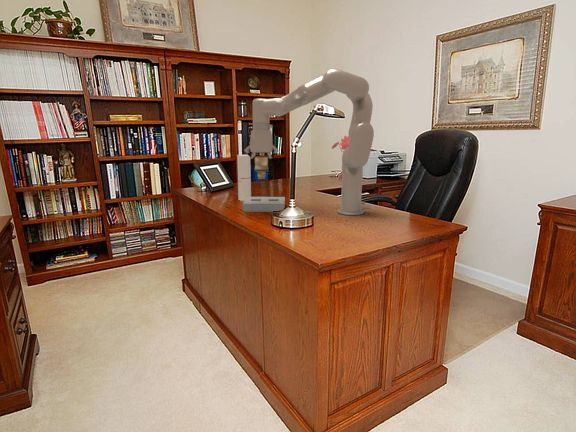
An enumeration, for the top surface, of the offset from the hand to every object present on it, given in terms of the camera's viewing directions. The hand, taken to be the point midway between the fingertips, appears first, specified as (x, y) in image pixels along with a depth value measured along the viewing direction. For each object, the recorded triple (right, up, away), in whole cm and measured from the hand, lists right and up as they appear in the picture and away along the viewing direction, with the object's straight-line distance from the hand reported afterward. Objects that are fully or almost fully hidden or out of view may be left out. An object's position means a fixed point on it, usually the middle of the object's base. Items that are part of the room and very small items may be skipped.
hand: (261, 166), depth 162 cm
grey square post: (-12, -14, +36) cm, 40 cm away
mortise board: (+1, -19, +15) cm, 24 cm away
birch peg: (0, -5, +1) cm, 6 cm away
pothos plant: (+59, +5, +117) cm, 131 cm away
